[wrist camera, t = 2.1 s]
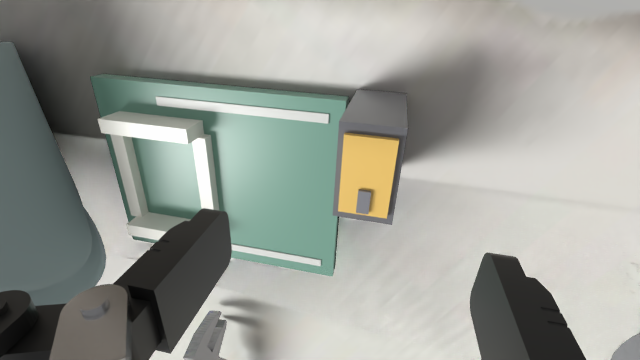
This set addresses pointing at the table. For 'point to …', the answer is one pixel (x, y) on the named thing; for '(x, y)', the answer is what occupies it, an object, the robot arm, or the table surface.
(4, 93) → the pencil case
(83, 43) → the table surface
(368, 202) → the switch
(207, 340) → the caliper
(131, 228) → the board
